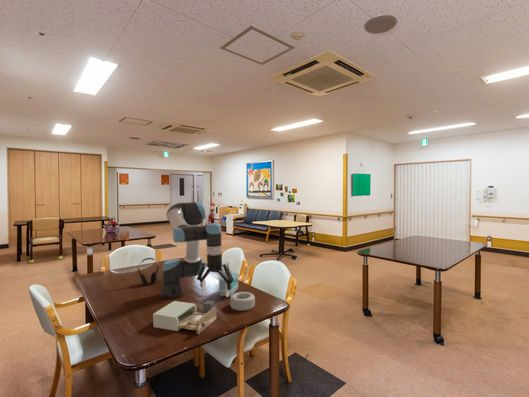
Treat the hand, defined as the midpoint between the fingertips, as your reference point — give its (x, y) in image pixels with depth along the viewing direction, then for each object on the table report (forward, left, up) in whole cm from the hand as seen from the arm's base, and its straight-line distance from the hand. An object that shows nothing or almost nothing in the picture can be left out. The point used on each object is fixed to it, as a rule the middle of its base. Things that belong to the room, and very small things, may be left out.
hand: (215, 294), depth 148 cm
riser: (-13, +15, -18) cm, 27 cm away
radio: (-15, +46, -18) cm, 52 cm away
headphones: (-83, +46, -18) cm, 97 cm away
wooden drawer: (-12, 0, -17) cm, 21 cm away
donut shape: (+2, +29, -18) cm, 35 cm away
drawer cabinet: (-25, 0, -18) cm, 31 cm away
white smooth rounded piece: (-12, 0, -16) cm, 19 cm away
